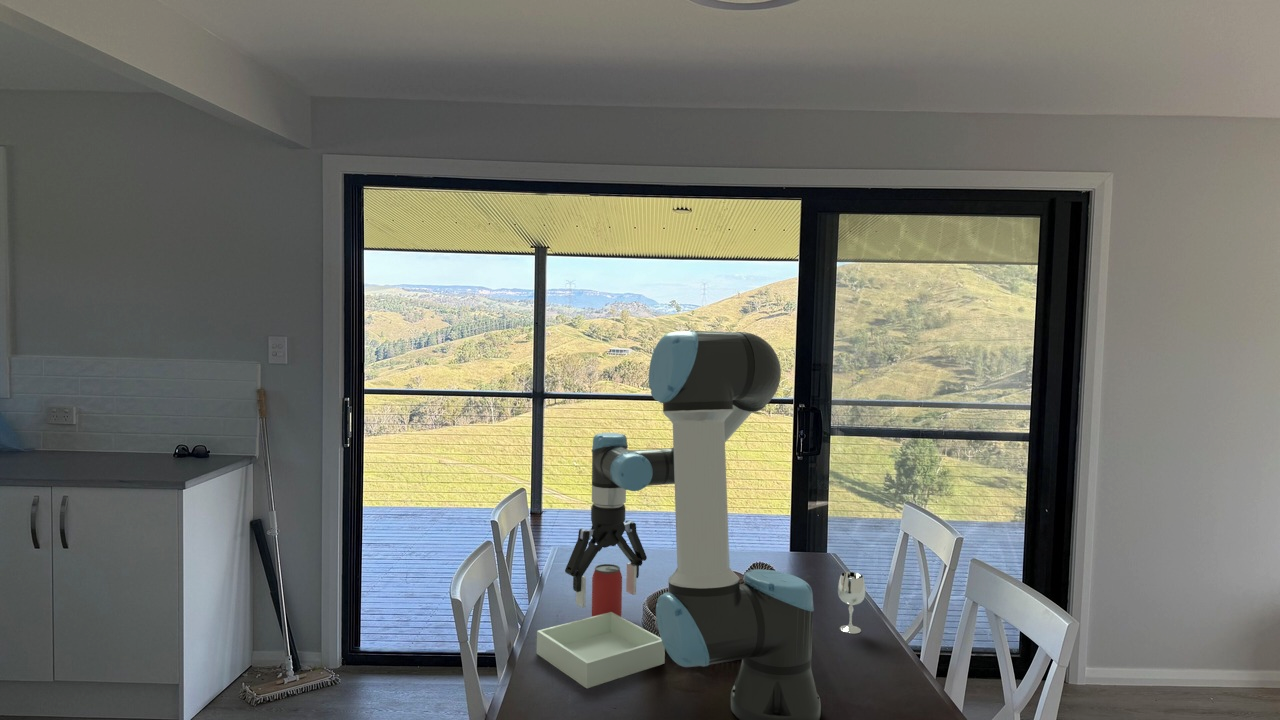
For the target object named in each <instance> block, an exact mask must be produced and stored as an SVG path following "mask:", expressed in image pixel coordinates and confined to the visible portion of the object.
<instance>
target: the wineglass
mask: <svg viewBox="0 0 1280 720" xmlns="http://www.w3.org/2000/svg"><path fill="white" fill-rule="evenodd" d="M865 584H866V583H865V579H864V575H863V574H861V573H858V572H853V571H844V572H841V574H840V576H839V580H838V584H837V593H838V595H837V596H838V597H839V599H840V601H842V602H843V603H844V604H846V605H849V606H848V612H849V622H848V624H847V625H846V624H845V625H841V626H840V627H839V630H840V631H841V632H843V633H846V634H853V635H855V634H859V633H861V632H862V630H861V628H860V627H858V626H855V625H853V622H852V621H853V613H854V607H853V606H855V605H856V606H857V605H859V604H861V603H862V602H863V601H864V600H865V596H866V585H865Z"/></svg>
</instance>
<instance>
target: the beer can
mask: <svg viewBox="0 0 1280 720" xmlns="http://www.w3.org/2000/svg"><path fill="white" fill-rule="evenodd" d="M622 595H623V575H622V573H621V567H620V566H618V565H616V564H614V563H613V564H612V563H603V564H601V563H600V564H598V565H596V566H595V567H594V571H593V574H592V577H591V617H593V616H597V615H601V614H605V613H609V612H613V613H615V614H616V615H618V616H620V617H622V605H623V603H622V602H623V596H622Z"/></svg>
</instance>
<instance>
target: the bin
mask: <svg viewBox="0 0 1280 720" xmlns="http://www.w3.org/2000/svg"><path fill="white" fill-rule="evenodd" d="M665 652H666V649H665V647H664V645H663V643H662V640H661V637H660V636H659V635H656V634H655V633H652V632H650V631H649V630H646V629H645V628H644V627H641V626H639V625H637V624H635V623H634V622H632V621H630V620H627V619H626V618H624V617H623V616H621V617H620V616H618V615H616V614H615V613H613V612H609V613H605V614H601V615H597V616H593V617H592V616H590V617H584V618H583V619H577V620H573V621H571V622H570V621H569V622H566V623H563V624H557V625H554V626H551V627H546V628H543V629H539V630H536V655H538V656H539V657H541V658H542V659H543V660H545V661H546V662H548V663H549V664H551V665H552V666H554V667H555V668H556V669H558V670H559V671H561V672H562V673H564V674H565V675H567V676H568V677H569V678H571V679H572V680H574V681H576V682H577V683H578V684H579V685H581V686H582V687H584V688H586V689H589V688H593V687H597V686H600V685H602V684H604V683H608V682H611V681H614V680H619V679H621V678H624V677H627V676H629V675H633V674H637V673H641V672H642V671H646V670H649V669H652V668H655V667H658V666H661V665H663V664H665V661H666V659H665V657H666V654H665Z"/></svg>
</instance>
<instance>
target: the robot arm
mask: <svg viewBox="0 0 1280 720" xmlns="http://www.w3.org/2000/svg"><path fill="white" fill-rule="evenodd" d="M650 359H651V360H650V362H649V367H648V369H649V370H648V386H649V389H650V393H651V396H652V398H653V399H654V400H655V401H656V402H659V403H660V404H662V413H663V415H664V416H665V417H666V418H668V420H669V421H670V422H671V423H672V440H673V441H672V444H673V446H672V447H671V448H670V447H669V448H657V449H655V448H654V449H652V448H650V449H634V450H633V449H628V448H629V447H628V441H627V440H628V437H627V436H626V435H625V434H623V433H619V432H600V433H596V434H594V436H593V438H592V448H591V466H592V467H591V503H593V504H592V505H590V521H591V528H590V529H584V528H582V527H581V528H579V530H578V535H577V541H576V543H575V545H574V547H573V551H572V552H571V555H570V557H569V560H568V562H567V565H566V566H565V569H564V572H565V574H567V575H568V576H571V577H573V578H572V579H573V580H572V590H573V591H574V592H575V605H577V606H579V607H580V608H585V607H586V592H587V583H586V582H587V576H584V574H585V573H586V571H587V570H588V569H589V567H590V565H591V563H592V562H593V560H594V559H595V557H596V556H597V554H598V553H599V552H600V551H601V550H602V549H606V548H609V547H616V545H617V547H619V550H621V552H622V553H623V554H624V556H625V557H626V558H627V559H628V561H629V562H627V563H626V583H625V585H626V586H625V589H626V593H629V594H631V595H633V596H634V595H637V579H638V578H639V575H640V574H639V573H640V572H639V571H640V566H642V565H643V561H647V559H648V558H647V555H646V552H645V549H644V546H643V545H642V542H641V540H640V537H639V535H638V532H637V523H635V522H634V521H631V520H626V505H625V503H626V502H627V491H629V492H638V491H639V492H640V491H641V490H643V489H644V488H646V487H649V486H662V485H674V497H675V498H674V502H675V503H674V505H675V506H674V507H675V510H674V511H675V532H676V533H675V534H676V535H675V536H676V537H675V538H676V564H677V565H676V566H677V567H676V569H675V571H674V572H673V573H672V574H671V575H670V576H669V577H668V591H667V592H663V594H661V595H659V596H658V598H657V603H656V605H655V619H656V625H657V628H658V633H659V637H660V638H661V640H662V643H663V645H664V647H665V652H666V653H667V654H668V657H670V659H672V661H673V662H674V663H676V664H677V665H678V666H681V667H683V668H692V667H694V668H695V667H708V666H709V665H710V666H711V665H715V664H720V663H726V662H733V661H737V660H741V663H740V666H739V670H738V672H737V674H736V678H735V682H734V685H733V686H732V689H731V692H730V710H731V712H732V713H733V714H734V716H735V717H736V718H737V719H738V720H820V718H821V710H822V709H821V707H822V705H821V703H822V702H821V698H820V695H819V693H818V692H817V688H816V682H815V679H814V675H813V670H812V649H813V648H812V647H813V644H812V643H813V618H814V617H813V612H814V611H815V607H814V599H813V598H814V597H813V596H814V595H813V590H812V587H811V585H810V584H809V583H808V582H807V581H805V580H804V579H802V578H800V577H798V576H795V575H793V574H790V573H787V572H786V573H785V572H782V571H779V570H778V571H776V570H773V569H772V570H771V569H761V568H759V569H758V568H757V569H755V568H754V569H749V570H748V571H745V573H744V576H743V577H742V581H743V583H741V584H740V576H738V575H737V574H736V573H735V572H734V571H733V570H732V568H731V567H730V564H731V563H730V540H729V539H730V538H729V515H728V513H729V512H728V489H727V466H726V465H727V462H726V443H727V441H728V440H729V439H730V438H731V437H732V436H733V435H734V434H735V433H736V431H737V430H738V429H739V428H740V427H741V425H742V424H743V423H744V422H745V421H746V420H747V419H748V418H749V417H750V415H751V414H752V413H756V412H757V413H758V412H760V411H761V410H763V409H764V408H765V407H766V406H767V405H768V404H769V403H770V402H771V400H772V399H773V398H774V396H775V395H776V393H777V391H778V389H779V386H780V383H781V376H782V371H781V364H780V363H781V362H780V359H779V356H778V355H777V353H776V351H775V350H774V348H773V347H772V345H770V344H769V343H768V341H766V340H765V339H763V338H762V337H760V336H759V335H757V334H754V333H751V332H750V333H749V332H745V331H735V332H734V331H733V332H732V331H712V330H710V331H709V330H708V331H707V330H705V331H704V330H685V331H684V330H682V331H672V332H671V331H670V332H669V333H666V334H665V335H663V336H662V337H661V338H660V340H658V342H657V343H656V345H655V348H654V349H653V352H652V355H651V358H650ZM624 522H625V523H624ZM625 532H626V535H627V539H628V540H629V543H630V545H631V547H630V546H629V544H628V543H627V540H626V539H625V538H624V536H623V535H624V533H625Z"/></svg>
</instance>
